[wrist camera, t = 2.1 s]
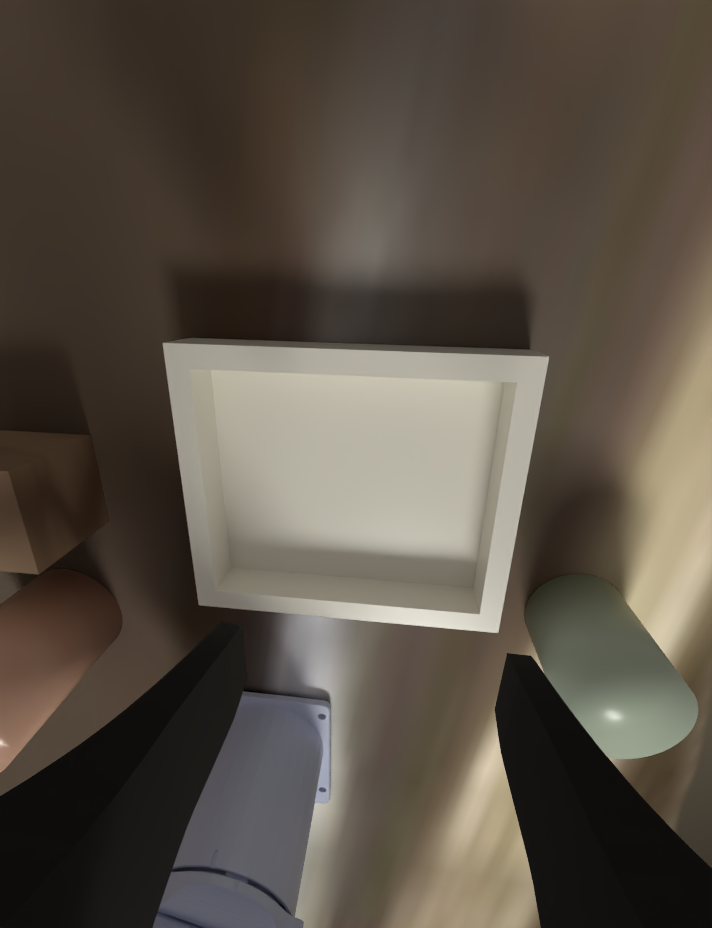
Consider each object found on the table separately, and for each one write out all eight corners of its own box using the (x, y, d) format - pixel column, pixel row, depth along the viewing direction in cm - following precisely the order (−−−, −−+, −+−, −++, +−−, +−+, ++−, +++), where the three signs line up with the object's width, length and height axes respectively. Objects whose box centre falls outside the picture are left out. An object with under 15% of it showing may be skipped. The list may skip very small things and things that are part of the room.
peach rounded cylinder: (129, 652, 27) (26, 785, 20) (42, 643, 28) (-91, 769, 20) (112, 573, 25) (-12, 689, 17) (18, 565, 25) (-142, 674, 18)
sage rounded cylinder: (610, 653, 23) (676, 765, 18) (517, 645, 24) (552, 751, 18) (635, 578, 21) (716, 676, 16) (533, 570, 22) (577, 662, 16)
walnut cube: (110, 520, 24) (38, 574, 19) (27, 514, 24) (-63, 565, 19) (92, 434, 22) (8, 471, 17) (2, 429, 22) (-103, 464, 18)
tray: (488, 599, 23) (498, 632, 20) (218, 575, 24) (198, 605, 22) (530, 349, 18) (549, 356, 16) (191, 337, 19) (162, 342, 17)
